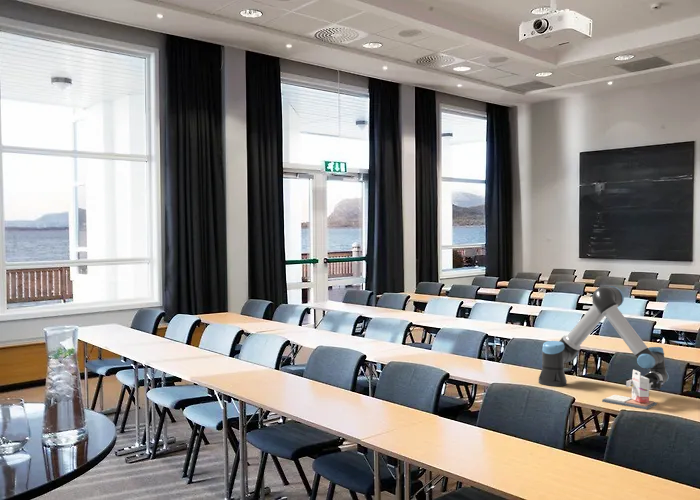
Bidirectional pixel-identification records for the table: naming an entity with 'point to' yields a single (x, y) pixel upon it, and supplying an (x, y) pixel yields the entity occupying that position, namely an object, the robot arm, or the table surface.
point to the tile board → (628, 402)
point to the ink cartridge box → (640, 388)
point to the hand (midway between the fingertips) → (637, 385)
